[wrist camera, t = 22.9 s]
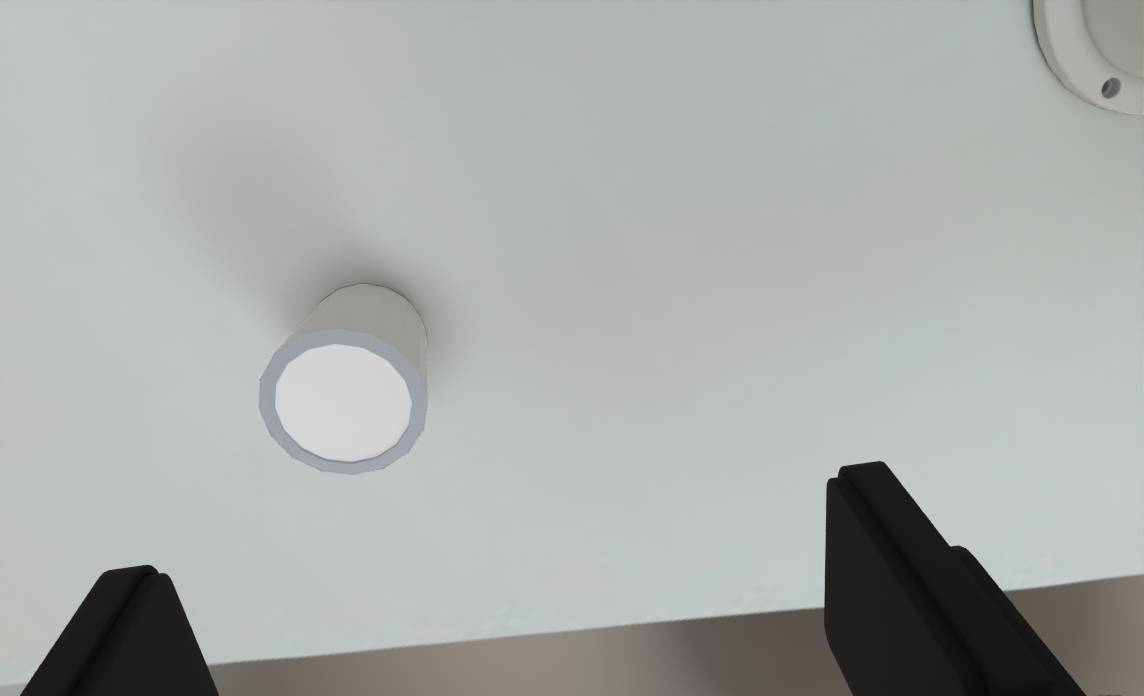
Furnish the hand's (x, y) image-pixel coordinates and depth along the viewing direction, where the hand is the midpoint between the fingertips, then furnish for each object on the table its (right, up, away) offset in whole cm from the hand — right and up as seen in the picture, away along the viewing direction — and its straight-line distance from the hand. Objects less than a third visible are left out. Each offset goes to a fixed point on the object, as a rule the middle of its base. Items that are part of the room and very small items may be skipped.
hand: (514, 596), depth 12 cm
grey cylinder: (-9, +4, +29) cm, 30 cm away
